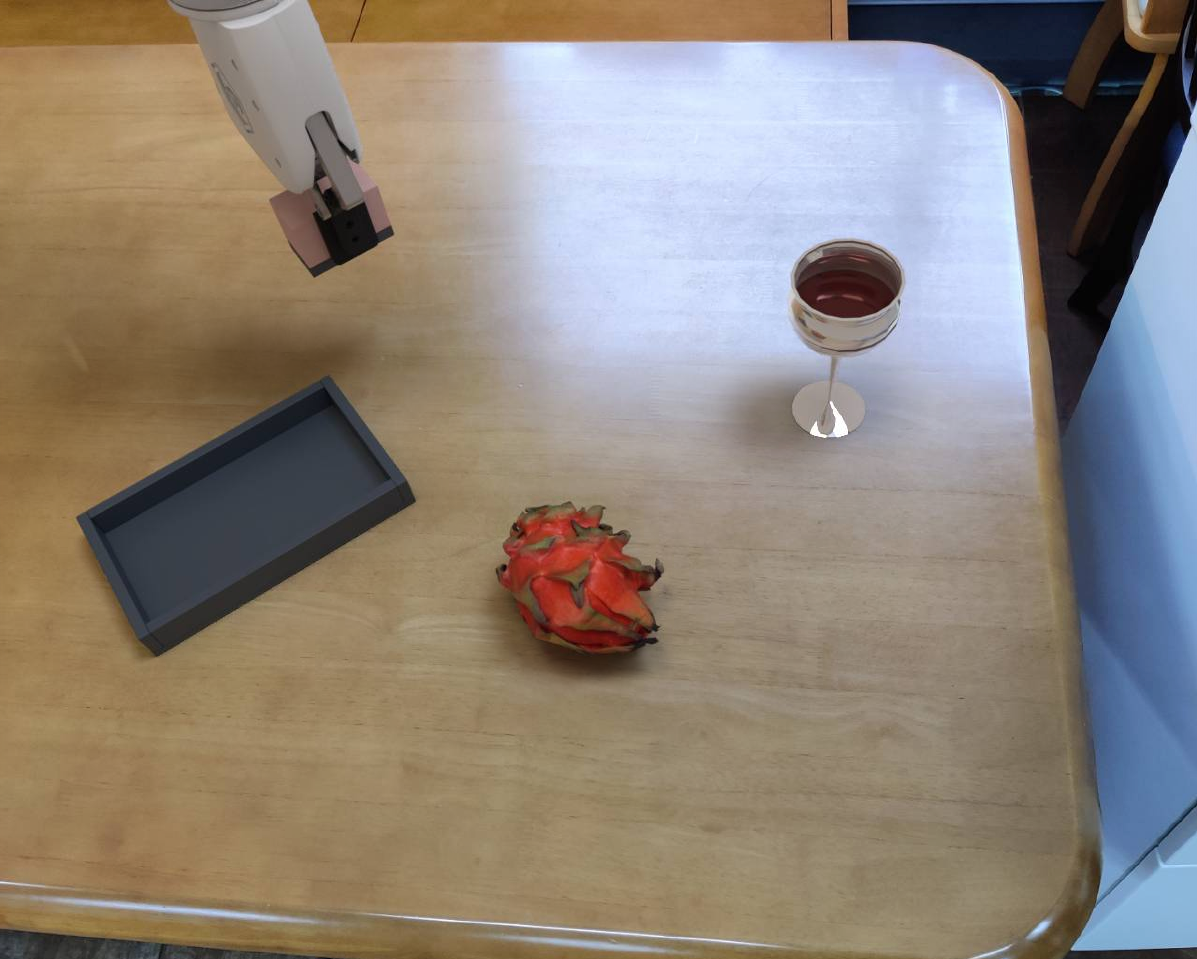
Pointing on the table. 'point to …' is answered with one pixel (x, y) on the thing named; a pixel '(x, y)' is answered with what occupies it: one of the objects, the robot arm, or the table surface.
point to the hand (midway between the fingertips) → (340, 233)
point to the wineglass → (841, 322)
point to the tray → (242, 514)
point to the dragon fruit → (578, 580)
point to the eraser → (303, 227)
